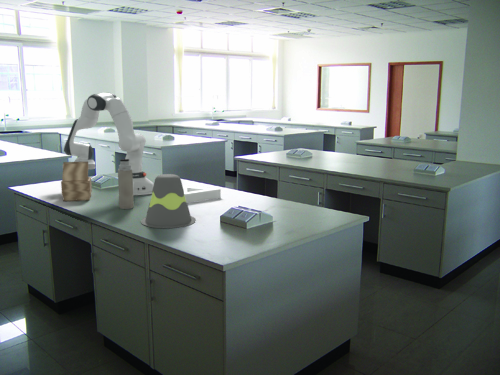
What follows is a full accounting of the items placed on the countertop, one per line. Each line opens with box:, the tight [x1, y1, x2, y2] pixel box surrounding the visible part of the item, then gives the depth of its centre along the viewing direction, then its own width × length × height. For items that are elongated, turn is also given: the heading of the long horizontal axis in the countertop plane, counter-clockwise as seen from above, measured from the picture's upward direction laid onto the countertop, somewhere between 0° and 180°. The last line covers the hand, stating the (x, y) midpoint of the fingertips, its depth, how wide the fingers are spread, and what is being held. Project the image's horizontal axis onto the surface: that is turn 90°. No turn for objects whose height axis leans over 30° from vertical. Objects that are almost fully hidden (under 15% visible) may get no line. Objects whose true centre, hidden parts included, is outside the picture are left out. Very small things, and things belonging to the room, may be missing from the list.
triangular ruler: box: [182, 185, 222, 204], centre depth 283 cm, size 30×26×6 cm
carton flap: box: [61, 161, 89, 182], centre depth 271 cm, size 14×14×1 cm
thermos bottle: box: [117, 158, 135, 210], centre depth 253 cm, size 8×8×28 cm
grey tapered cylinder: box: [140, 173, 197, 229], centre depth 226 cm, size 28×28×24 cm
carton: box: [60, 176, 93, 202], centre depth 275 cm, size 16×14×12 cm
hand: (78, 167), depth 285 cm, fingers closed
